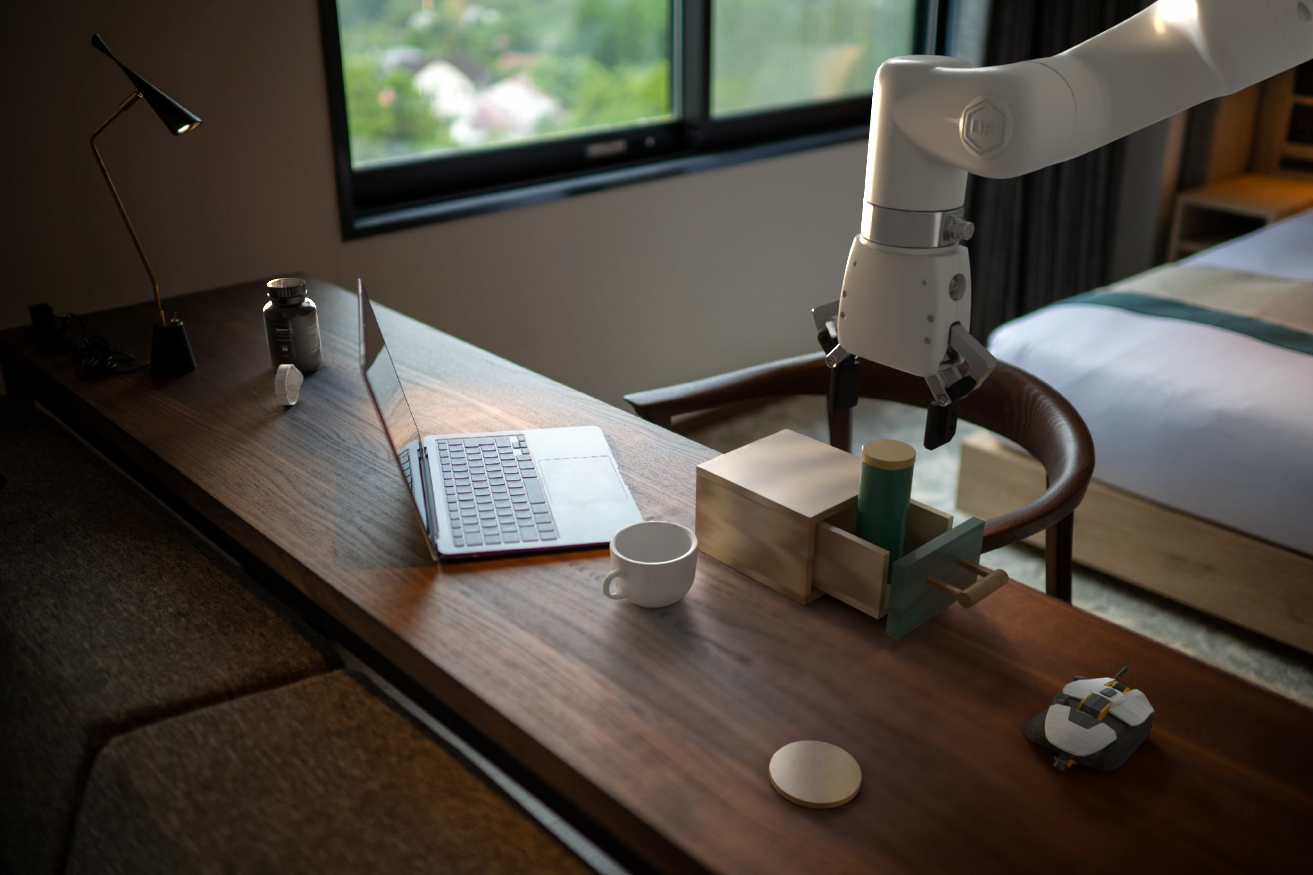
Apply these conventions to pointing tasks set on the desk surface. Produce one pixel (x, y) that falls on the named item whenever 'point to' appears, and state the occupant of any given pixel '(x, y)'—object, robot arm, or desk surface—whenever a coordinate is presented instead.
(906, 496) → the tin
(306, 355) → the supplement bottle
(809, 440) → the cabinet
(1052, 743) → the computer mouse
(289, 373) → the white thick rounded piece
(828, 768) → the coaster
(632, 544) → the teacup
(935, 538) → the drawer
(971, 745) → the desk surface
